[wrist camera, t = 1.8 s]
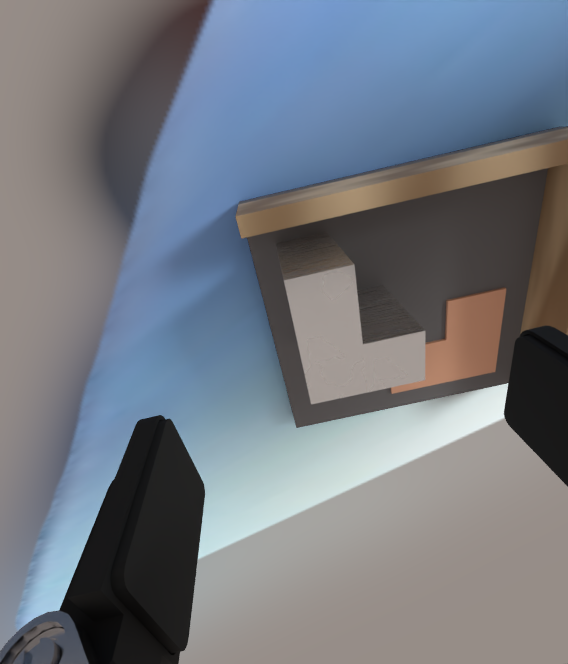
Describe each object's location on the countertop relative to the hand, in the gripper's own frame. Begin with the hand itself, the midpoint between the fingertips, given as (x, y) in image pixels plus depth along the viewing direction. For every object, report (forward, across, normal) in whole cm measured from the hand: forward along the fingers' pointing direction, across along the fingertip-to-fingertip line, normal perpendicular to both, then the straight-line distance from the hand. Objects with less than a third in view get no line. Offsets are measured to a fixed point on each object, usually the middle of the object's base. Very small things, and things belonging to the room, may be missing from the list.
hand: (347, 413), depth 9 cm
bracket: (+12, -2, +2) cm, 13 cm away
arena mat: (+13, -7, +4) cm, 16 cm away
